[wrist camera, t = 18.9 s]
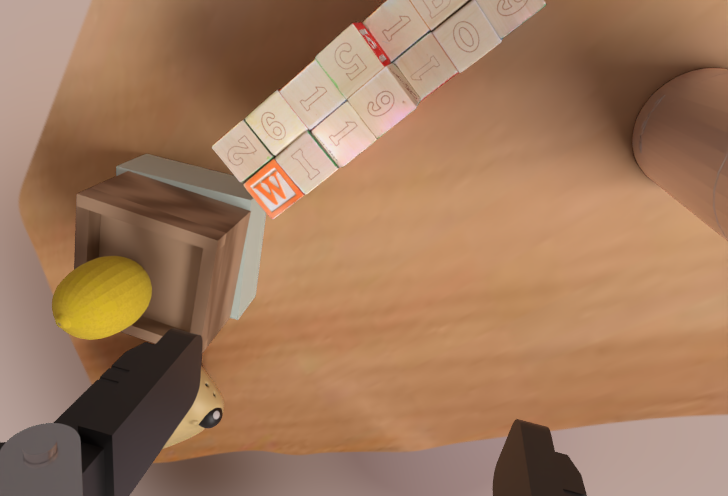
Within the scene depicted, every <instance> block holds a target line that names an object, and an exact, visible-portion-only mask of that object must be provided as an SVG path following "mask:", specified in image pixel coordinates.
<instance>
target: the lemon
mask: <svg viewBox="0 0 728 496" xmlns="http://www.w3.org/2000/svg"><path fill="white" fill-rule="evenodd" d="M151 296H152V285H151V280H150V278H149V276H148V274H147V272H146V271H145V270H144V269H143V267H142V266H141V265H139V264H138V263H137V262H135V261H133V260H131V259H129V258H125V257H121V256H104V257H99V258H96V259H93V260H91V261H89V262H86V263H84V264H82V265H80V266H79V267H77V268H76V269H74V270H73V271H72V272H70V273H69V274H68V275H67V276H66V277H65V278H64V279H63V280H62V282H61V283H60V284H59V285H58V286H57V288H56V290H55V293H54V295H53V299H52V310H53V315H54V318H55V320H56V324H57V326H58V327H60V328H62V329H63V330H64V331H65V332H67V333H68V334H70V335H72V336H75V337H77V338H82V339H88V340H93V339H101V338H105V337H109V336H111V335H114V334H116V333H118V332H120V331H122V330H124V329H126V328H127V327H129V326H131V325H132V324H133V323H135V322H136V321H137V320H138V319H139V318H140V317H141V315H142V314H143V313H144V312H145V310H146V309H147V307H148V305H149V302H150V300H151Z"/></svg>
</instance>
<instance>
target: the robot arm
mask: <svg viewBox="0 0 728 496" xmlns="http://www.w3.org/2000/svg"><path fill="white" fill-rule="evenodd" d="M632 146H633V152H634V156H635V159H636V161H637V163H638V166H639V167H640V168H641V170H642V171H643V172H644V173H645V175H646V176H648V177H649V178H650V179H651V180H653V181H654V182H655V183H656V184H657V185H659V186H660V187H661V188H662V189H664V190H665V191H666V192H667V193H668V194H669V195H671V196H672V197H673V198H674V199H676V200H677V201H678V202H679V203H681V204H682V205H683V206H684V207H686V208H687V209H688V210H689V211H691V212H692V213H693V214H694V215H696V216H697V217H698V218H699V219H701V220H702V221H703V222H704V223H706V224H707V225H708V226H709V227H711V228H712V229H713V230H714V231H716V232H717V233H718V234H719V235H721V236H722V237H723V238H725V239H726V240H727V241H728V69H723V68H704V69H699V70H694V71H690V72H687V73H685V74H682V75H680V76H677V77H676V78H674V79H672V80H671V81H669V82H667V83H666V84H664V85H663V86H662V87H661V88H659V89H658V90H657V91H656V92H655V93H654V94H653V95H652V96H651V97H650V98H649V100H648V101H647V102H646V103H645V105H644V106H643V108H642V110H641V111H640V113H639V115H638V117H637V119H636V123H635V126H634V130H633V138H632ZM202 345H203V340H202V337H201V335H198V334H194V333H190V332H186V331H182V330H178V329H175V328H172V329H170V330H168V331H167V332H166V333H165V334H164V336H163V337H162V338H161V339H160V340H159V341H158V342H157V343H156V344H155V345H154V344H151V343H147V342H145V343H143V344H141V345H139V346H137V347H135V348H133V349H131V350H129V351H127V352H125V353H124V354H123V355H122V356H121V357H120V358H119V359H118V360H117V361H116V362H115V363H114V364H113V365H112V367H111V369H110V368H109V369H108V370H107V371H106V372H105V373H104V374H103V375H102V376H101V377H100V379H99V380H97V381H96V382H95V383H94V384H93V385H92V386H91V387H89V388H88V390H87V391H86V392H84V393H83V394H82V395H81V397H79V398H78V399H77V400H76V402H74V403H73V404H72V405H71V406H70V407H69V408H68V409H67V410H66V411H65V412H64V413H63V414H62V415H61V416H60V417H59V418H58V419H57V420H56V421H55V422H54V423H46V424H40V425H36V426H32V427H29V428H27V429H25V430H23V431H21V432H19V433H17V434H15V435H14V436H13V437H11V438H10V439H9V440H8V441H7V442H4V443H0V496H129V495H130V494H131V492H132V491H133V490H134V488H135V487H136V485H137V484H138V482H139V481H140V480H141V478H142V477H143V475H144V474H145V473H146V471H147V470H148V468H149V467H150V465H151V464H152V463H153V461H154V460H155V458H156V457H157V456H158V454H159V453H160V451H161V450H162V448H163V447H164V446H165V444H166V443H167V441H168V440H169V438H170V437H171V436H172V434H173V433H174V431H175V430H176V428H177V427H178V426H179V424H180V423H181V421H182V420H183V418H184V417H185V416H186V414H187V413H188V411H189V410H190V408H191V407H192V405H193V403H194V401H195V399H196V397H197V394H198V391H199V387H200V378H201V361H202ZM493 496H587V495H586V491H585V487H584V484H583V480H582V477H581V474H580V473H579V471H578V470H577V468H576V467H575V465H574V464H573V462H572V461H571V460H570V458H569V457H568V455H565V454H562V453H558V452H555V450H554V446H553V441H552V437H551V433H550V430H549V428H548V427H546V426H542V425H538V424H534V423H530V422H526V421H523V420H519V419H516V420H515V421H514V423H513V425H512V427H511V430H510V432H509V434H508V437H507V439H506V442H505V445H504V447H503V449H502V452H501V454H500V457H499V459H498V462H497V464H496V468H495V472H494V479H493Z"/></svg>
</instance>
